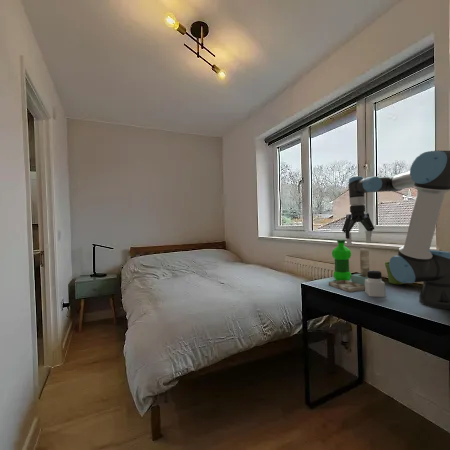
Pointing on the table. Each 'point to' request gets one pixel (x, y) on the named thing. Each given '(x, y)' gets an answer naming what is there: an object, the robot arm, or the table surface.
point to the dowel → (364, 262)
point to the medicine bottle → (374, 284)
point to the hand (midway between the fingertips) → (359, 243)
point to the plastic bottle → (341, 261)
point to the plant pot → (390, 276)
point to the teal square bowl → (358, 279)
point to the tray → (347, 285)
